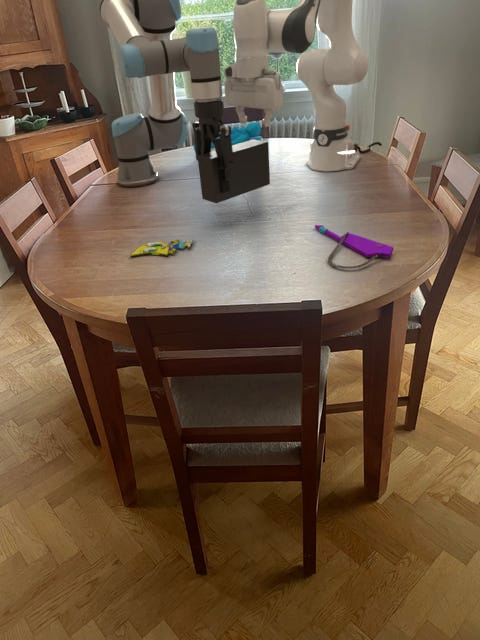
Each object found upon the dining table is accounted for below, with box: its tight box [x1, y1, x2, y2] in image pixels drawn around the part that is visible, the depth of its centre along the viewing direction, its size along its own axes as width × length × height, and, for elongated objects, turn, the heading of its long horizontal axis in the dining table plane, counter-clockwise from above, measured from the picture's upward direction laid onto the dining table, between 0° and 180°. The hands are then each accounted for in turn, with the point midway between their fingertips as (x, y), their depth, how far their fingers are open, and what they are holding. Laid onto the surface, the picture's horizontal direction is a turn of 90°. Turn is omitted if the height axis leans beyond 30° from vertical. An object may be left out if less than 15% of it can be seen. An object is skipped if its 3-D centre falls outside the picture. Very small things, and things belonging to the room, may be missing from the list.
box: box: [197, 139, 271, 204], centre depth 135 cm, size 20×6×12 cm, turn 131°
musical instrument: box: [314, 224, 394, 269], centre depth 119 cm, size 24×2×20 cm
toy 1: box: [130, 238, 194, 258], centre depth 128 cm, size 10×1×15 cm
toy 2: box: [192, 121, 263, 154], centre depth 205 cm, size 17×11×30 cm
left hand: (217, 189), depth 134 cm, fingers closed on box, 6 cm apart
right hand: (254, 124), depth 134 cm, fingers open, 8 cm apart
